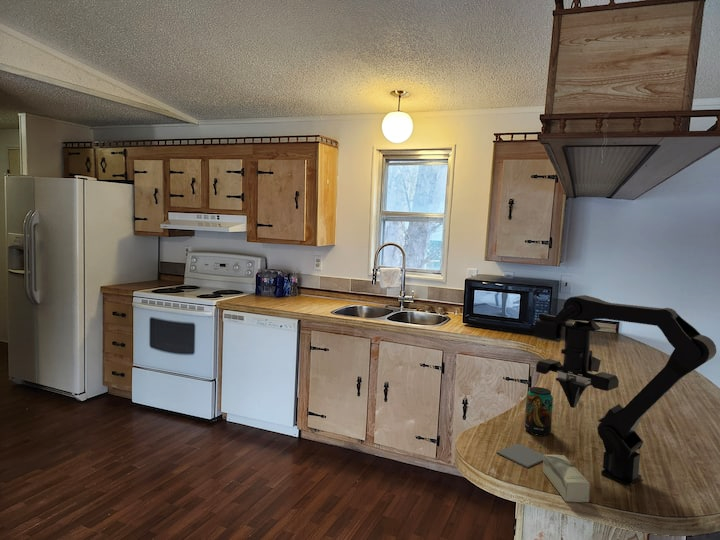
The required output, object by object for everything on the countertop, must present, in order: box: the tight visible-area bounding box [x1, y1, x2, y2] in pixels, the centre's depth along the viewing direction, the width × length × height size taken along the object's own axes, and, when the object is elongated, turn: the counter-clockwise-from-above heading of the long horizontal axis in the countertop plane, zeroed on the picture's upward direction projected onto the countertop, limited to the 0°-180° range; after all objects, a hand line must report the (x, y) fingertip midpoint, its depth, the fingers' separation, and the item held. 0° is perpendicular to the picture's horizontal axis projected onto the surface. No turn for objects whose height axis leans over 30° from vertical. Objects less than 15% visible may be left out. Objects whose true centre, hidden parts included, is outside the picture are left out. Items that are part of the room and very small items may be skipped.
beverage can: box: [524, 386, 554, 436], centre depth 136 cm, size 7×7×12 cm
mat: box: [496, 443, 545, 469], centre depth 120 cm, size 9×9×1 cm
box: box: [542, 454, 591, 503], centre depth 106 cm, size 5×4×13 cm
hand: (573, 407), depth 119 cm, fingers closed
